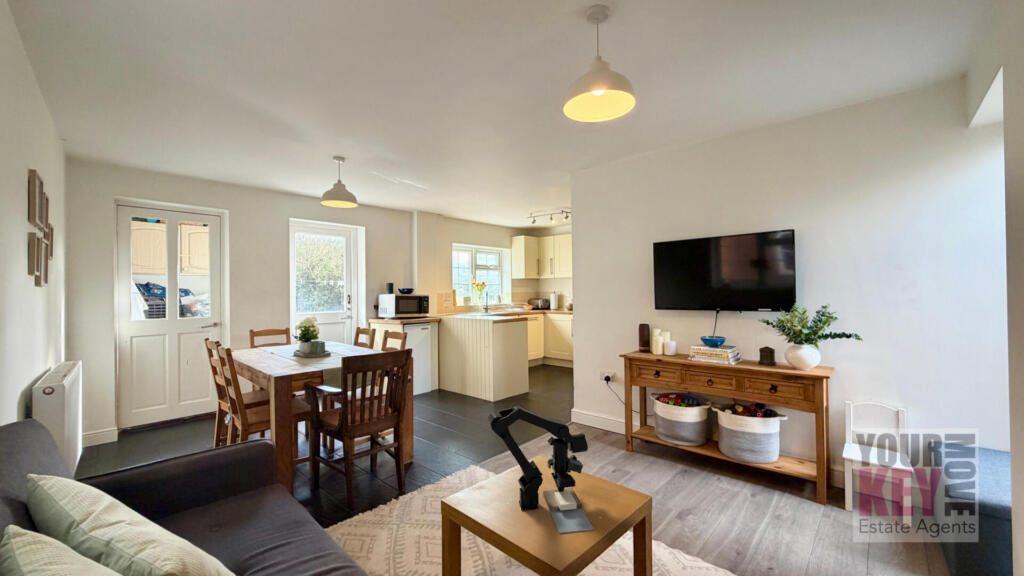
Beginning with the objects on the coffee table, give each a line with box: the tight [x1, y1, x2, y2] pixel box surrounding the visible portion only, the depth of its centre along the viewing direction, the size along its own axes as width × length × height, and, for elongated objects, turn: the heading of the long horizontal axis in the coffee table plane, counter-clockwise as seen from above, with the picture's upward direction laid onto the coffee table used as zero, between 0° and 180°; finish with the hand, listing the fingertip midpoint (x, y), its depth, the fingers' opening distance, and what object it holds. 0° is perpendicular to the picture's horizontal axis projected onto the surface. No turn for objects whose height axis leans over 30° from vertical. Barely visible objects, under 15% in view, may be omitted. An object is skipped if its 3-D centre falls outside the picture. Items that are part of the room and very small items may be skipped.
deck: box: [542, 487, 583, 512], centre depth 161 cm, size 12×12×2 cm
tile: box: [554, 491, 577, 510], centre depth 157 cm, size 6×9×2 cm, turn 8°
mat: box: [549, 508, 594, 535], centre depth 148 cm, size 12×13×1 cm
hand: (561, 494), depth 162 cm, fingers closed
